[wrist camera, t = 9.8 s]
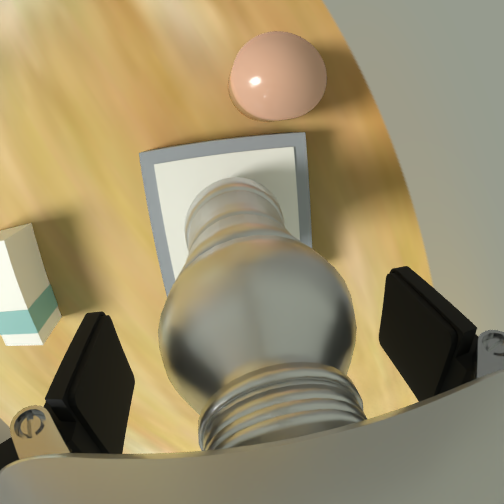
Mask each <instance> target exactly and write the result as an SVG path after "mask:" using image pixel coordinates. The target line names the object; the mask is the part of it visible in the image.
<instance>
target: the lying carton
mask: <svg viewBox="0 0 504 504" xmlns="http://www.w3.org/2000/svg"><path fill="white" fill-rule="evenodd" d="M61 317H62V316H61V313H60V311H59V308H58V304H57V301H56V299H55V296H54V293H53V290H52V287H51V285H50V283H49V280H48V277H47V274H46V271H45V268H44V265H43V262H42V258H41V255H40V252H39V248H38V245H37V241H36V238H35V234H34V230H33V226H32V223H29V224H25V225H21V226H17V227H13V228H9V229H5V230H1V231H0V335H1V336H2V338H3V340H4V342H5V344H6V346H20V345H44V343H45V341H46V340H47V338H48V337H49V335H50V334H51V332H52V331H53V329H54V328H55V326H56V325H57V323H58V322H59V320H60V319H61Z"/></svg>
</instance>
